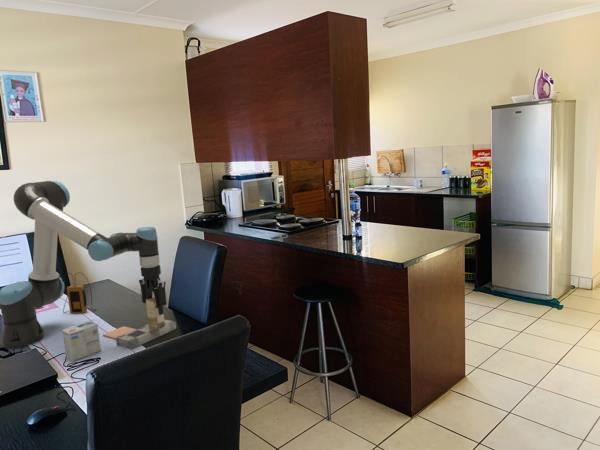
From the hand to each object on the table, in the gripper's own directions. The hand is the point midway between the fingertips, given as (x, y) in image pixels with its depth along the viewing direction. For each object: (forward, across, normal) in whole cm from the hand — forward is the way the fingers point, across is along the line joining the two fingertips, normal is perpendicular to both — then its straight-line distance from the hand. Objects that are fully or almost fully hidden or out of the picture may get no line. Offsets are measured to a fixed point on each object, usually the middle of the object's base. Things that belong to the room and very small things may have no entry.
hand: (156, 320), depth 186 cm
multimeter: (+5, +58, -3) cm, 58 cm away
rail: (+5, 0, +5) cm, 7 cm away
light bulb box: (+5, +9, +27) cm, 29 cm away
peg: (+5, 0, 0) cm, 5 cm away
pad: (+5, +13, +8) cm, 16 cm away
